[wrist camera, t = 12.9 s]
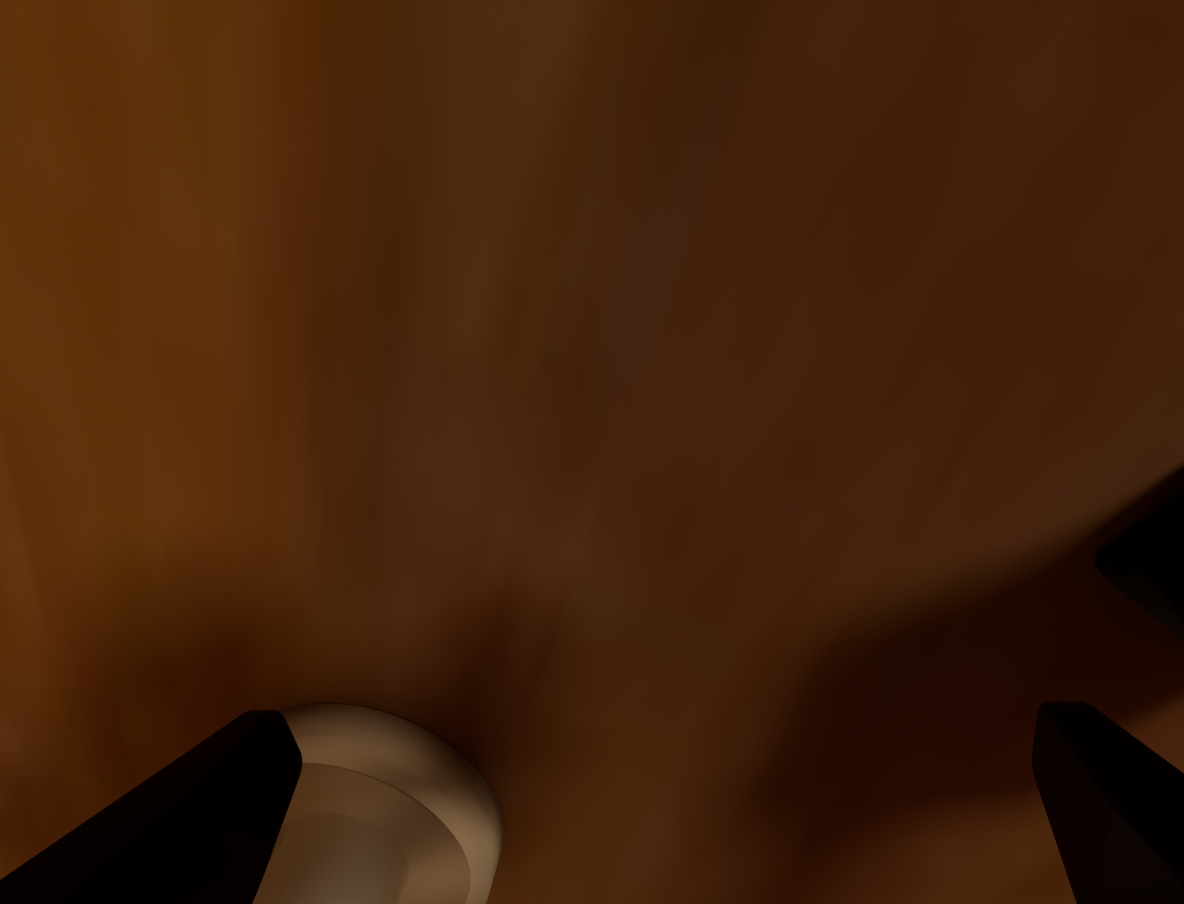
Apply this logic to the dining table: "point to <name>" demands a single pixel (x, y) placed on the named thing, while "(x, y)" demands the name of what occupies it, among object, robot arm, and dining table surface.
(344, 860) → the candle
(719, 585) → the dining table surface
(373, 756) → the base disc
